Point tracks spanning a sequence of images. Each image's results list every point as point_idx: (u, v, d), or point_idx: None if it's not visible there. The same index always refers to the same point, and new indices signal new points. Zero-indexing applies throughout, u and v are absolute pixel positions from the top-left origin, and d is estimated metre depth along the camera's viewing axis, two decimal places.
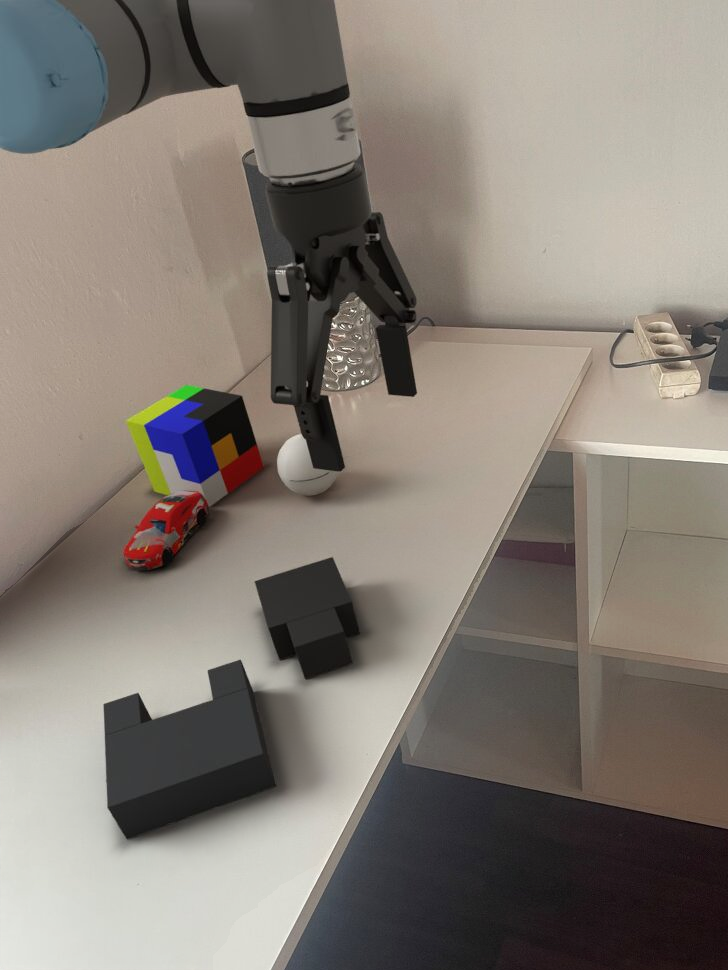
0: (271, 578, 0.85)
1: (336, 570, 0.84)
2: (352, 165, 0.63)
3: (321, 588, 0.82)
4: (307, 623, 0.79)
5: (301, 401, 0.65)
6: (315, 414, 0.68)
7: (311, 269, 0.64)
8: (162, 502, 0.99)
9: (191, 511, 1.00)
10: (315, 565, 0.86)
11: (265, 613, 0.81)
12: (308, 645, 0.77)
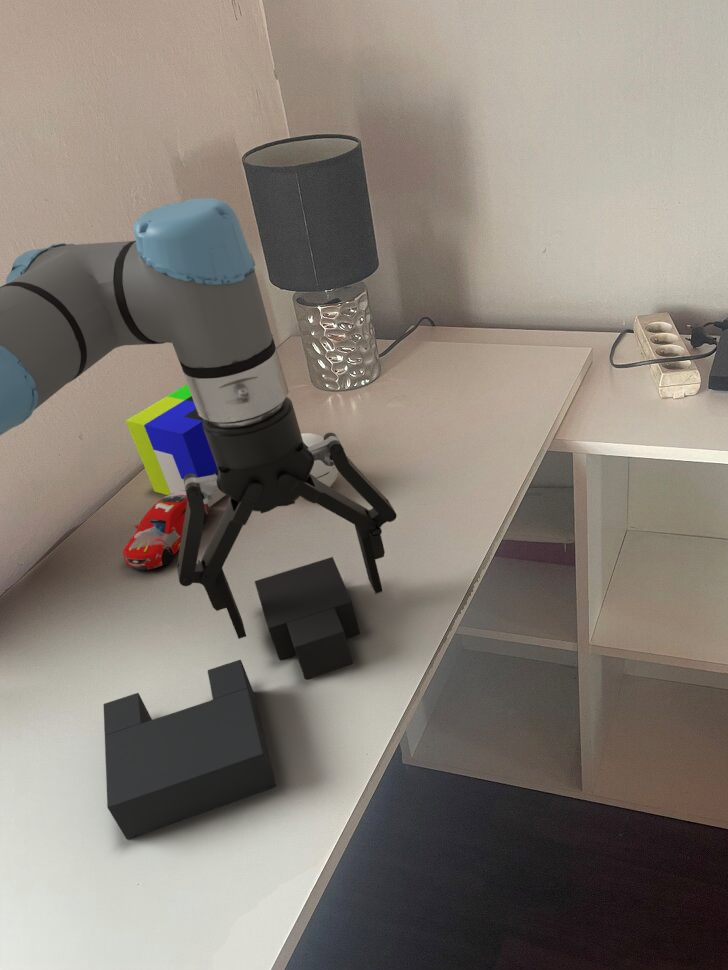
0: (271, 578, 0.85)
1: (336, 570, 0.84)
2: (260, 418, 0.68)
3: (321, 588, 0.82)
4: (307, 623, 0.79)
5: (184, 583, 0.76)
6: (213, 591, 0.78)
7: (219, 487, 0.73)
8: (162, 502, 0.99)
9: None
10: (315, 565, 0.86)
11: (265, 613, 0.81)
12: (308, 645, 0.77)
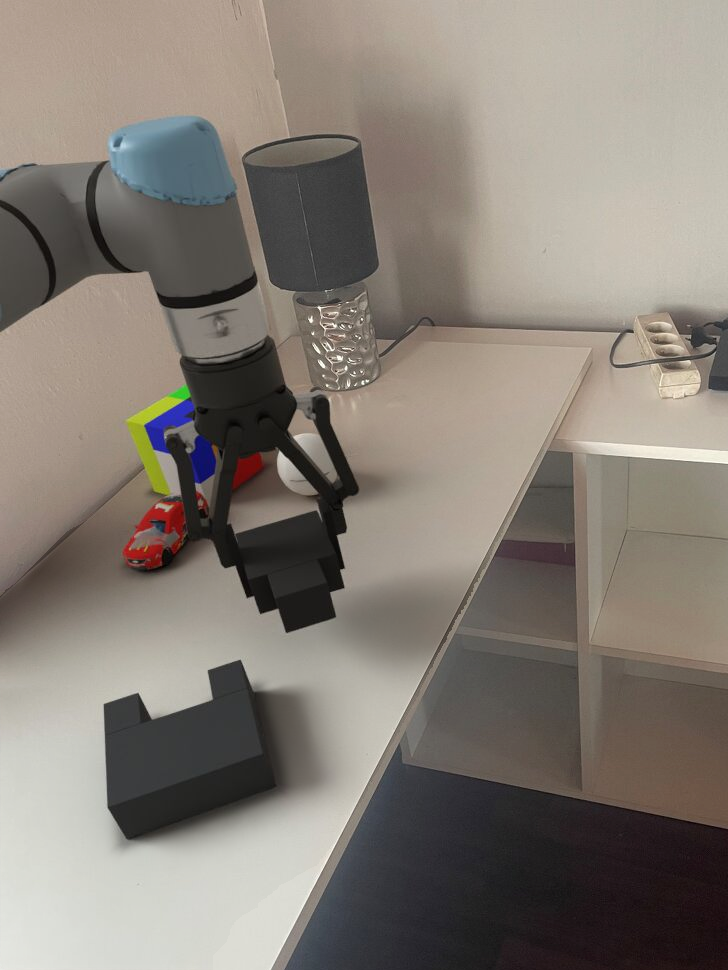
0: (253, 530, 0.81)
1: (320, 523, 0.81)
2: (240, 355, 0.65)
3: (304, 540, 0.79)
4: (289, 574, 0.75)
5: (194, 538, 0.74)
6: (222, 548, 0.77)
7: (196, 429, 0.69)
8: (162, 502, 0.99)
9: None
10: (298, 518, 0.82)
11: (245, 565, 0.77)
12: (290, 596, 0.73)
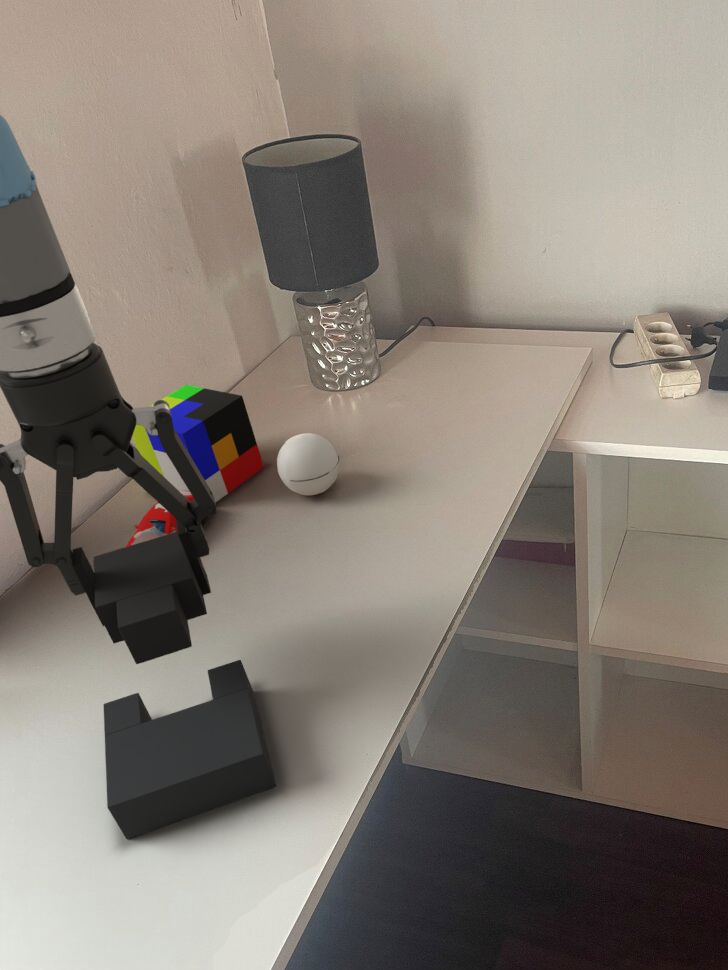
0: (112, 553, 0.76)
1: None
2: (57, 367, 0.60)
3: (163, 563, 0.74)
4: (138, 601, 0.70)
5: (35, 564, 0.69)
6: (70, 574, 0.71)
7: (23, 448, 0.64)
8: None
9: None
10: (162, 539, 0.77)
11: (96, 591, 0.72)
12: (135, 625, 0.68)
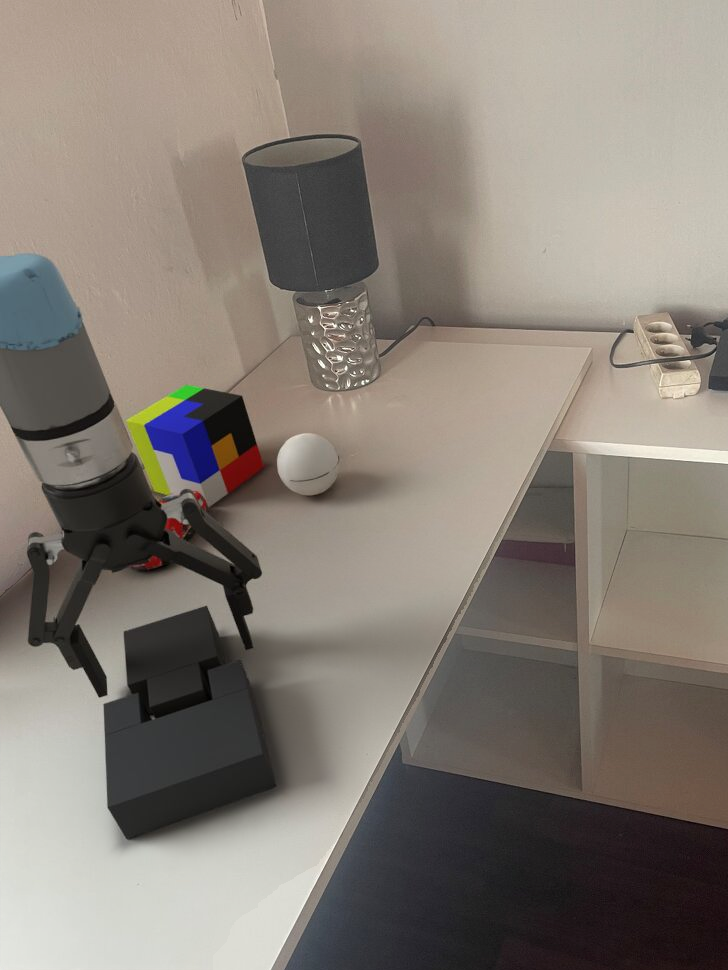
0: (141, 628, 0.81)
1: (208, 620, 0.81)
2: (98, 480, 0.65)
3: (189, 640, 0.79)
4: (167, 680, 0.75)
5: (34, 643, 0.73)
6: (68, 651, 0.75)
7: (64, 547, 0.70)
8: (162, 502, 0.99)
9: None
10: (188, 614, 0.82)
11: (127, 668, 0.77)
12: (165, 704, 0.73)
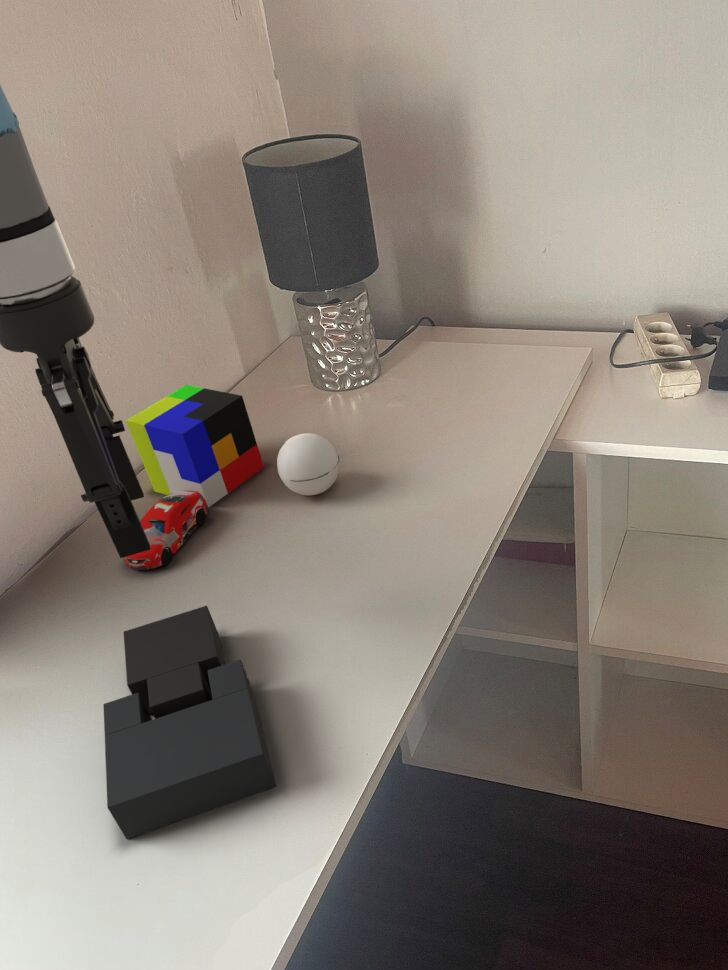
0: (141, 628, 0.81)
1: (208, 620, 0.81)
2: None
3: (189, 640, 0.79)
4: (167, 680, 0.75)
5: None
6: None
7: None
8: (161, 502, 0.99)
9: (190, 511, 1.00)
10: (188, 614, 0.82)
11: (127, 668, 0.77)
12: (165, 704, 0.73)
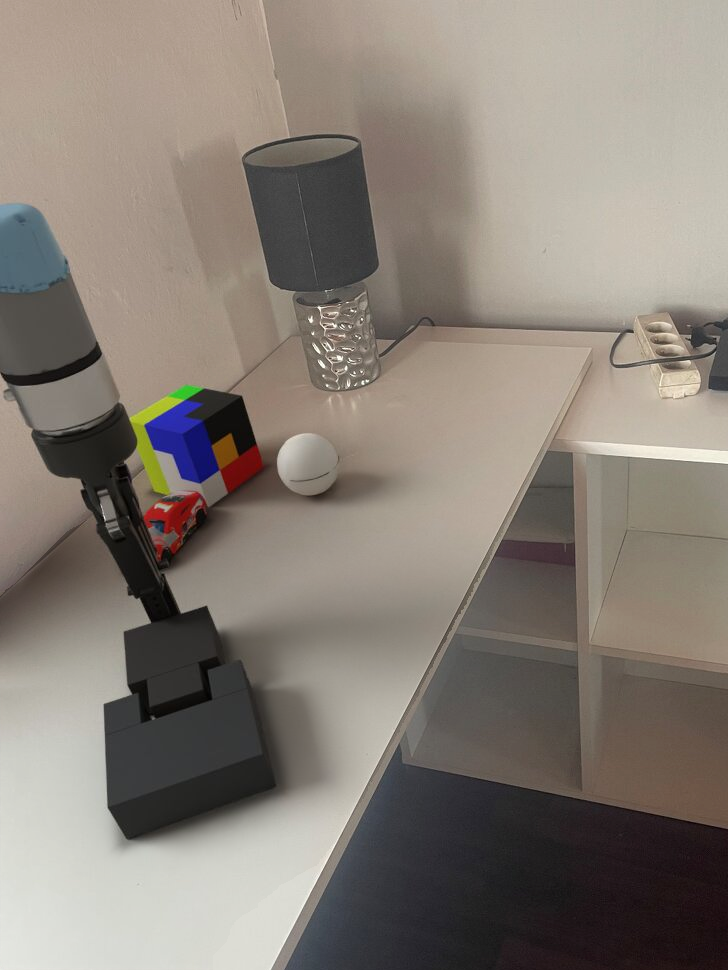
0: (141, 628, 0.81)
1: (208, 620, 0.81)
2: None
3: (189, 640, 0.79)
4: (167, 680, 0.75)
5: None
6: None
7: None
8: (161, 502, 0.99)
9: (190, 511, 1.00)
10: (188, 614, 0.82)
11: (127, 668, 0.77)
12: (165, 704, 0.73)
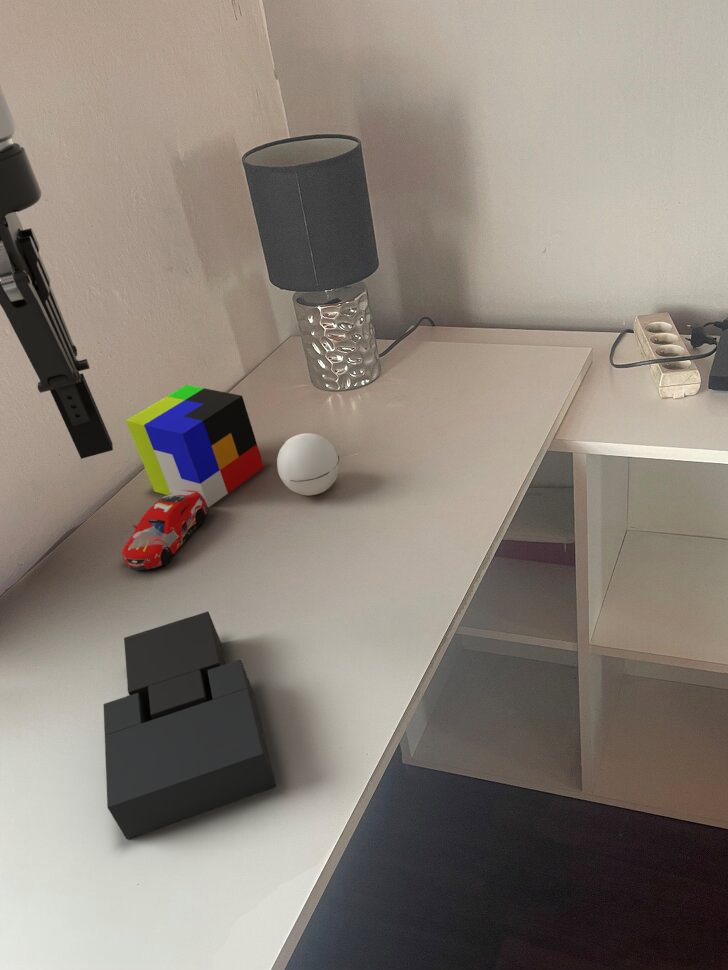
0: (142, 634, 0.81)
1: (209, 626, 0.80)
2: None
3: (190, 647, 0.78)
4: (169, 687, 0.74)
5: None
6: None
7: None
8: (161, 502, 1.00)
9: (190, 511, 1.00)
10: (189, 620, 0.81)
11: (128, 675, 0.76)
12: (166, 711, 0.72)
